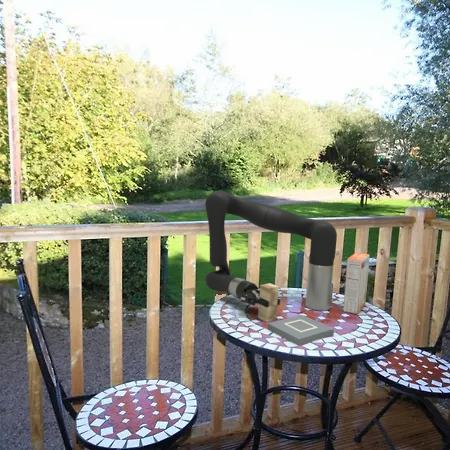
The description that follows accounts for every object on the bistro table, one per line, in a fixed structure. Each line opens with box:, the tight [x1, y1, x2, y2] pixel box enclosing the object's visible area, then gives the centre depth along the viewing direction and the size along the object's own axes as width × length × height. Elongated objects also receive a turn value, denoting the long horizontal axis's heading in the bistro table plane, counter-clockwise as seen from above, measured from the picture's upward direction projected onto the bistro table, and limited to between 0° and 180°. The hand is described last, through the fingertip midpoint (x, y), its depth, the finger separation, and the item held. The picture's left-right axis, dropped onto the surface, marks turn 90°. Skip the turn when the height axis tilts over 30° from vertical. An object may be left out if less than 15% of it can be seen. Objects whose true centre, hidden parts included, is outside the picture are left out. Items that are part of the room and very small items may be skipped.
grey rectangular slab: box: [267, 314, 335, 346], centre depth 131 cm, size 16×14×2 cm
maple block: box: [257, 282, 280, 323], centre depth 141 cm, size 4×4×12 cm
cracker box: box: [342, 252, 370, 315], centre depth 156 cm, size 14×6×21 cm, turn 150°
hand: (273, 303), depth 139 cm, fingers closed on maple block, 4 cm apart
